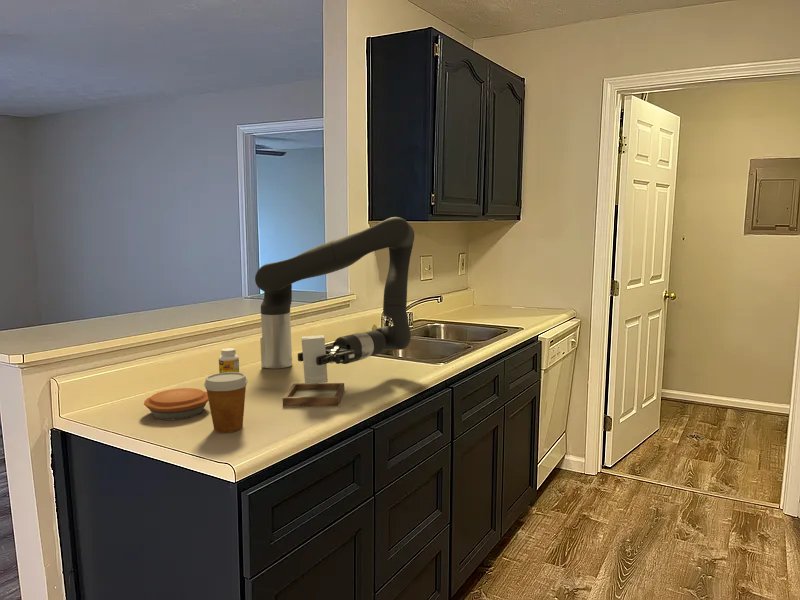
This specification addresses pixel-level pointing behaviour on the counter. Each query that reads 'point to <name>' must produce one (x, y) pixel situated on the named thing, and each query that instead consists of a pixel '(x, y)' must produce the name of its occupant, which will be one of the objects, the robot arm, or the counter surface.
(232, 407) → the disposable coffee cup
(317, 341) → the skincare box
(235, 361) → the supplement bottle
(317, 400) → the tray
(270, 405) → the counter surface
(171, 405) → the pie
